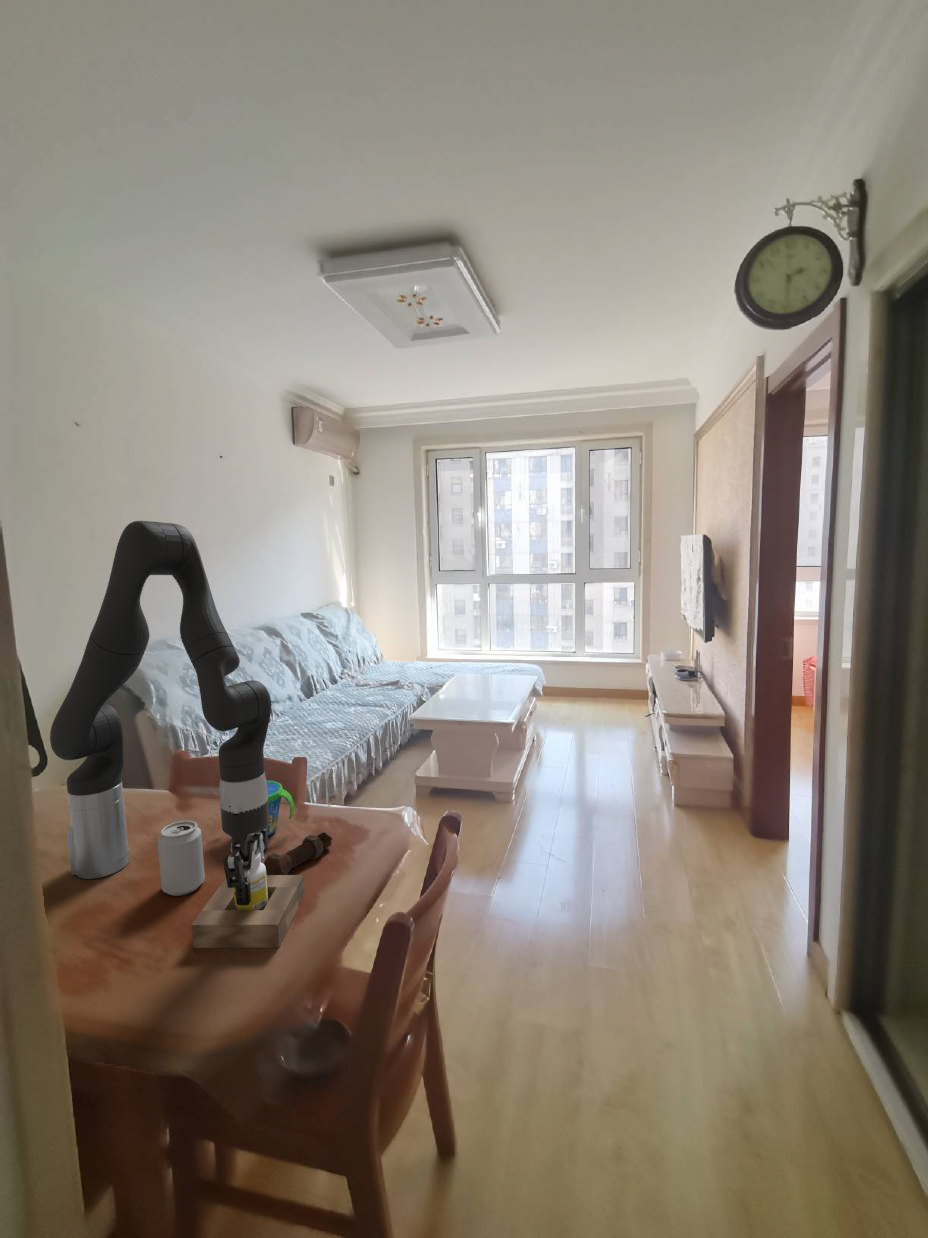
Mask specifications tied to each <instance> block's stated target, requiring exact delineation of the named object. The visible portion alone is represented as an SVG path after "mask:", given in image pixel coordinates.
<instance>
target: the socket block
mask: <svg viewBox="0 0 928 1238" xmlns="http://www.w3.org/2000/svg"><path fill="white" fill-rule="evenodd" d="M266 877H267V890H268V903H267V905H266V906H265V908H264V910H235V899H234V888H228V886H227V881H226V878H225V879H224V880H223V881H222V883H221V884H220V885H219V887H218V888H217V889H216V891H215V893H214V894H213V895H212V896H211V898H210V899H209V901H208V902H207V903H206V905H205V906H204V907H203V908H202V910H201V911H200V913H199V914H198V915H197V917H196V918H195V919H194V921H193V922H192V923H191V924H190V925H191V935H192V936H191V937H192V948H193V949H208V948H209V949H213V948H214V949H216V948H217V949H222V948H223V949H225V948H226V949H228V948H229V949H231V948H232V949H234V948H237V949H238V948H240V949H243V948H248V949H250V948H251V949H253V948H254V949H255V948H256V949H257V948H259V949H260V948H269V949H270V948H274V949H275V948H277V949H278V948H280V947H281V945H282V943H283V942H284V939H285V937H286V935H287V932H288V931H289V928H290V926H291V924H292V922H293V920H294V918H295V916H296V913H297V912H298V910H299V908H300V904H302V901H303V899H304V897H305V882H304V881H305V880H304V875H302V874H287V875H266Z"/></svg>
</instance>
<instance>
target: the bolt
mask: <svg viewBox="0 0 928 1238" xmlns="http://www.w3.org/2000/svg"><path fill="white" fill-rule="evenodd" d="M332 841H333V838H332V836H331V835H330V834H328V833H327V832H326V831H325V832H321V833H319V834H318V835H314V834H309V835H306V836H305V837H304V839H303V840H302V843H301V844H300V845H298V846H296V847H295V848H293V849H290V850H289V851H286V852H285V853H283V854H281V855H280V854H277V853H275V852H272V853H270V854H268V855H267V856H266V857H265V859H264V861H263V864H264V865H265V867H266V875H289V872H290V871H291V870H292V869H293V868H295V867H298V865H301V864H303V863H304V862H306V861H308V860H317V859H318V858H320V857H321V855H322V854H323V851H324V850H326V849H327V848H329V847H331V846H332V843H333V842H332Z"/></svg>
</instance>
